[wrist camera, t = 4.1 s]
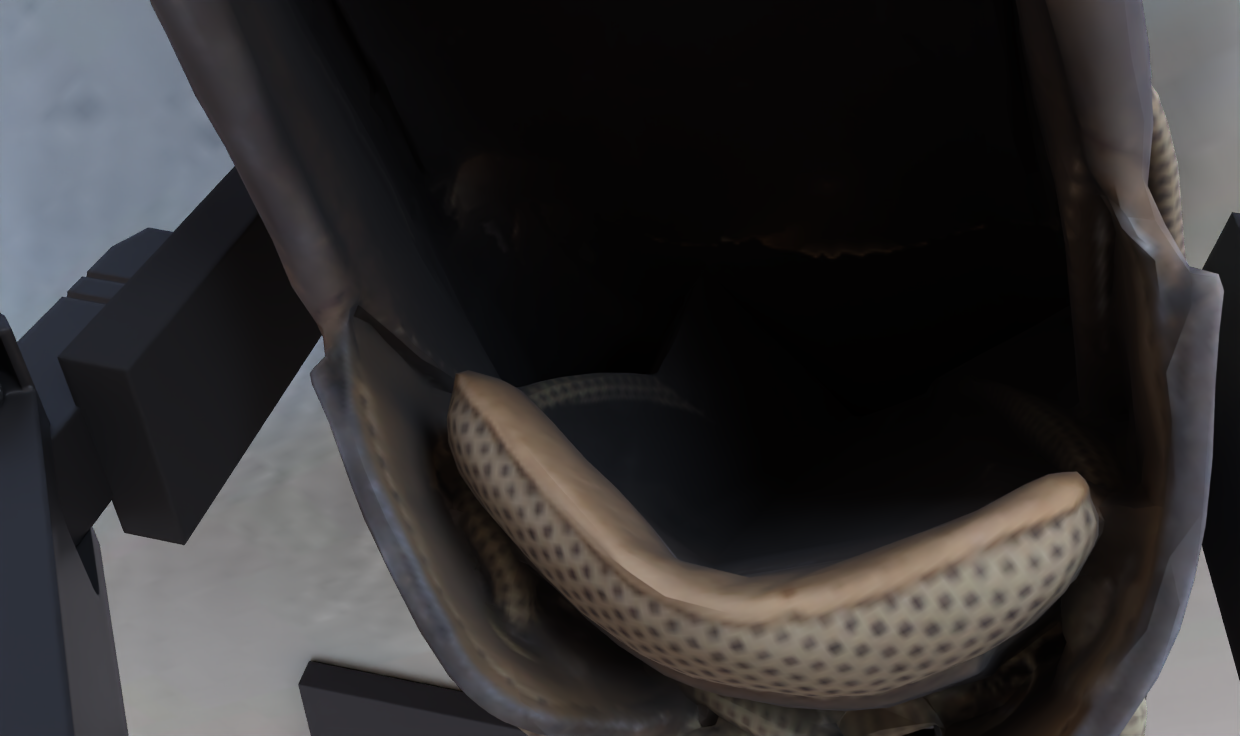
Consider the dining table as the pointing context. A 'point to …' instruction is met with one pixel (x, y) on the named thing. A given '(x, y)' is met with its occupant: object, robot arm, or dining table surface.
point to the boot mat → (390, 707)
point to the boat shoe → (746, 347)
